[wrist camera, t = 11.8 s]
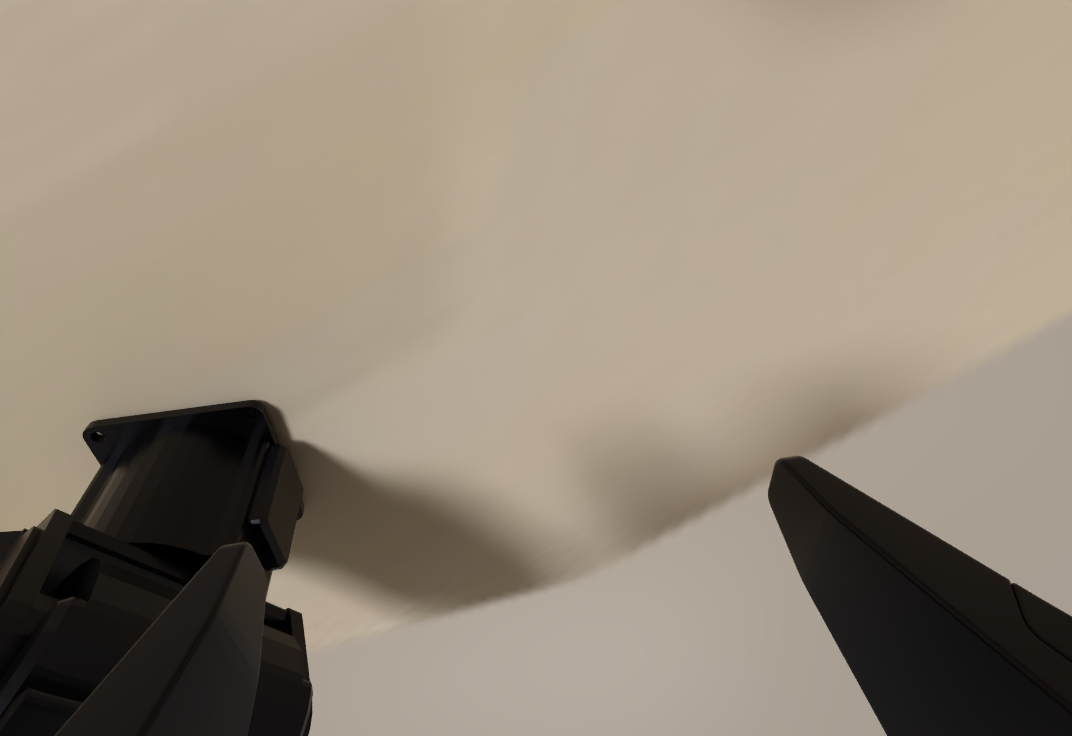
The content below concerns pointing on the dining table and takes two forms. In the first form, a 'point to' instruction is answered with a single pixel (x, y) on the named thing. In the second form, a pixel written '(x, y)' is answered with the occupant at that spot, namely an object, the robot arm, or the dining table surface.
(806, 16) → the dining table surface
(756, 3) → the dining table surface
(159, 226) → the dining table surface
